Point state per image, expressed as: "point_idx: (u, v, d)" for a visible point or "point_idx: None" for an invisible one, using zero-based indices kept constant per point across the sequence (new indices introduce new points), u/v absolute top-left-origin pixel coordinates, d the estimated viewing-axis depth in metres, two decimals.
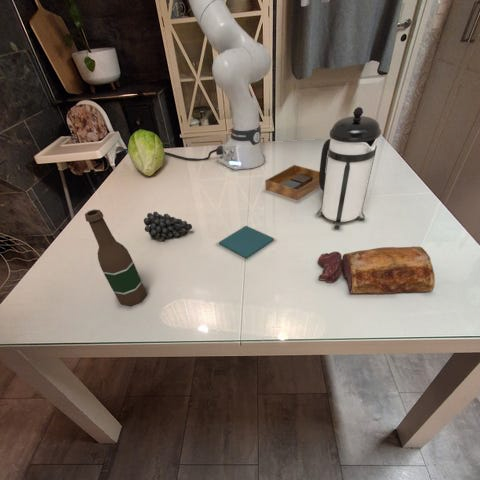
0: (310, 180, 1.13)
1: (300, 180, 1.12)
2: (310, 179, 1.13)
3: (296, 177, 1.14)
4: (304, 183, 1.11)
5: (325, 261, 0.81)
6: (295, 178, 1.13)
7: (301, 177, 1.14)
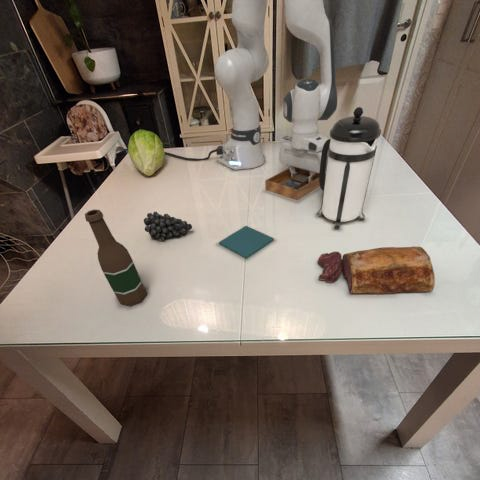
0: None
1: (300, 180, 1.12)
2: None
3: (296, 177, 1.14)
4: (304, 183, 1.11)
5: (325, 261, 0.81)
6: (295, 178, 1.13)
7: (301, 177, 1.14)
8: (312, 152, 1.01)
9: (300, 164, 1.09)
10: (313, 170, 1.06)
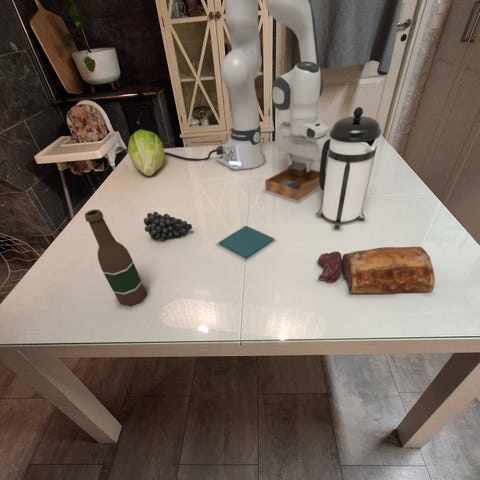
0: None
1: (298, 168, 1.09)
2: None
3: (294, 166, 1.10)
4: (301, 172, 1.08)
5: (325, 261, 0.81)
6: (293, 166, 1.10)
7: (298, 165, 1.10)
8: (310, 139, 0.98)
9: (298, 152, 1.05)
10: (311, 158, 1.03)
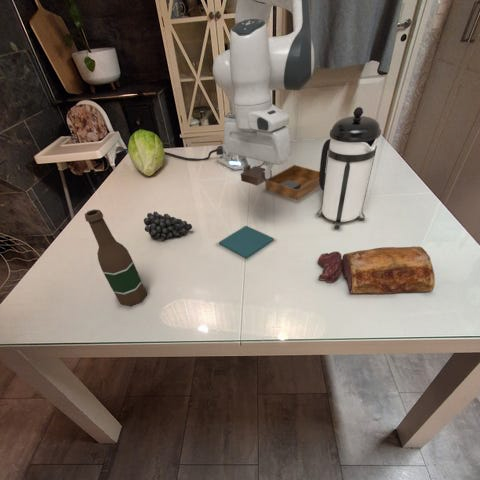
0: None
1: (253, 175, 0.79)
2: None
3: (249, 172, 0.81)
4: (259, 179, 0.79)
5: (325, 261, 0.81)
6: (247, 173, 0.81)
7: (255, 171, 0.81)
8: (264, 133, 0.69)
9: (251, 153, 0.76)
10: (268, 160, 0.74)
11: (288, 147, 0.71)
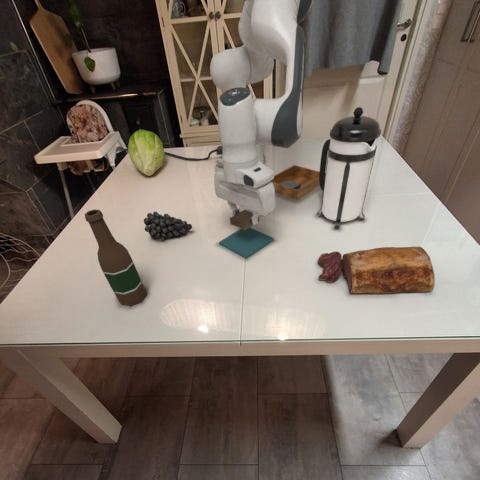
0: None
1: (241, 221, 0.84)
2: None
3: (238, 216, 0.86)
4: (247, 225, 0.83)
5: (325, 261, 0.81)
6: (236, 217, 0.85)
7: (243, 215, 0.86)
8: (250, 188, 0.73)
9: (239, 201, 0.81)
10: (255, 210, 0.78)
11: (273, 200, 0.75)
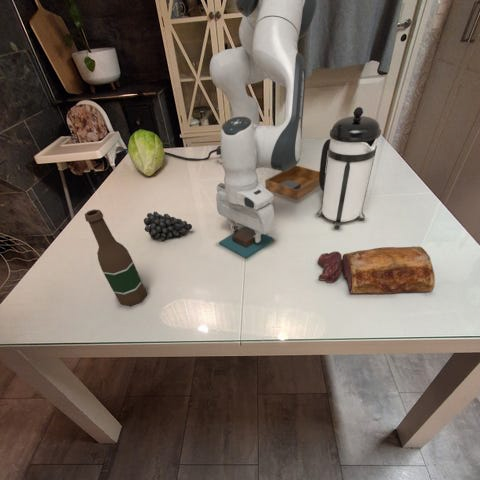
0: None
1: (243, 239, 0.88)
2: None
3: (239, 234, 0.90)
4: (248, 243, 0.88)
5: (325, 261, 0.81)
6: (238, 235, 0.90)
7: (245, 233, 0.90)
8: (250, 209, 0.77)
9: (240, 220, 0.85)
10: (255, 229, 0.82)
11: (272, 220, 0.80)
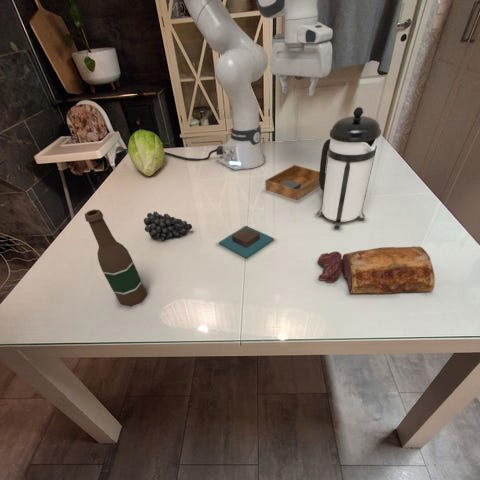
0: (256, 238, 0.89)
1: (243, 239, 0.88)
2: (257, 237, 0.89)
3: (239, 234, 0.90)
4: (248, 243, 0.88)
5: (325, 261, 0.81)
6: (238, 235, 0.90)
7: (245, 233, 0.90)
8: (310, 46, 0.80)
9: (295, 70, 0.87)
10: (312, 74, 0.85)
11: (330, 60, 0.82)
